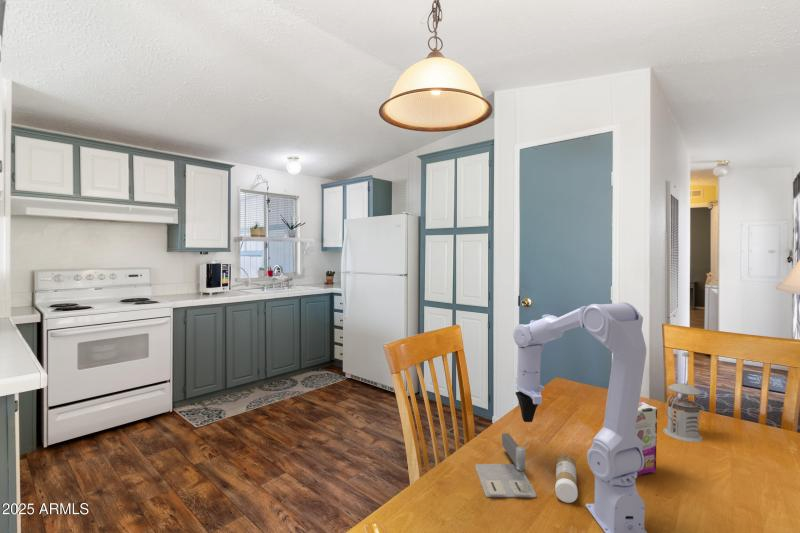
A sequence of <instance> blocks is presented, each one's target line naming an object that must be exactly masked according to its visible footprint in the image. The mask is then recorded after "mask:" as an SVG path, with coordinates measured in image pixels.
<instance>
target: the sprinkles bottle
mask: <svg viewBox="0 0 800 533" xmlns="http://www.w3.org/2000/svg"><path fill="white" fill-rule="evenodd" d="M576 463H577V462H576V460H575V459H574V458H573V457H572V456H570V455H568V454H561V455H559V456H558V457H557V458H556V468H555V482H556V483H555V485H554V488H555V489H554V492H555V494H556V497H557V498H558V499H559V500H560V501H561V502H563V503H567V504H571V503H573V502H575V501H576V500H577V499H578V496H579V494H578V493H579V491H578V487H577V483H578V482H577V480H578V479H577V470H576V467H577V464H576Z"/></svg>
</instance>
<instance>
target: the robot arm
mask: <svg viewBox="0 0 800 533" xmlns="http://www.w3.org/2000/svg"><path fill="white" fill-rule="evenodd" d="M541 317H542V318H540V319H537V320H536V319H532V320H530V322H529V323H528V324H522V323H521V324H518V325H517V326H515V327H514V329H513V339H514V342H515V344H516V345H517V373H516V375H517V376H516V377H515V378H516V379H515V381H516V383H515V388H516V390H517V391H516V392H515V395H516V397H517V401H518V404H519V407H520V412H521V419H522V421H523V422H524V423H533V420H534V416H535V413H536V411H537V408H538V406H539V405H542V404H543V396H542V392H541V391H545V386H544V385H542V384H541V363H542V360H541V358H542V352H544V345H545V344H546V343H549V342H551V341H554V340H558V339H560V338H561V337H563V336H564V333H565V331H569V330H571V329H577V328H582V329H585V330H586V331H587V332H588V333H589V334H590V335H592V337H593V338H595V339H596V340H597V341H598V342H600V343H601V344H602V345H603V346H604V347H606V349H609V351H610V352H611V353H612V362H611V367H610V376H609V383H608V389H607V398H606V405H605V412H604V420H603V427H601V429H600V430H599V431H598V432H597V434H596V435H595V436H594V437H593V441H592V445H591V446H590V448H588V450H587V453H586V459H587V460H586V462H587V464H588V466H589V468H590V471H591V472H592V474H593V475H594V495H593V496H594V500H593V501H594V502H593V503H585V508H586V509H587V510H588V512H589V513H590V514H591V516H592V517H593V518H594V520H595V521H596V522H597V524H598V525H599V527H600V528H601V530H603V532H604V533H648V532H647V531H646V529H645V520H646V519H645V516H646V514H645V513H646V505H645V502H644V500H643V498H642V497H641V496H640V494H639V493H638V490H637V487H636V486H637V485H636V479H637V478H638V476H637V472H638V471H640V470H641V469H642V468H643V467H644V456H643V452H642V443H643V442H642V441H641V440H640V439H639V437H637V436H636V435H635V434H634V433H635V426H636V419H637V413H638V406H639V402H640V398H641V391H642V384H643V379H644V378H643V377H644V371H645V364H646V358H647V346H646V345H647V344H646V340H645V338H644V333H643V329H642V328H643V321H644V317H643V315H642V314H641V313H640V312H639V311H638V309H637V308H636V307H635V306H634V305H633V304H631V303H629V302H623V301H622V302H616V303H604V304H603V303H602V304H598V303H592V304H588V305H585V306H580V307H579V308H577V309H574V310H572V311H570V312H568V313H566V314H563V315H562V316H559V317H558V316H555V315H553V314H551V315H550V313H549V314H548V313H547V314H543V315H541Z"/></svg>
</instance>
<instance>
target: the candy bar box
mask: <svg viewBox="0 0 800 533" xmlns="http://www.w3.org/2000/svg"><path fill="white" fill-rule="evenodd" d="M657 431H658V408H657V407H656V406H654V405H651V404H649V403H646V402H645V401H639V406H638V413H637V419H636V426H635V433H634V434H635V435H636V436H637V437H639V439H640V440H641V441H642V442H643V443H642V452H643V456H644V467H643V468H642V469H641V470H640V471H638V472H637V477H638V476H644V475H649V474H654V473H656V472H657V433H658V432H657Z"/></svg>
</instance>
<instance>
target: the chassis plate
mask: <svg viewBox="0 0 800 533" xmlns="http://www.w3.org/2000/svg"><path fill="white" fill-rule="evenodd" d="M475 470H476V473H477V476H478V479H479V482H480V484H481V487H482V489H483V491H484V494H485V495H484V496H485V497H486V498H536V496H537V494H536V491H535V489H534V488H533V485H532V483H531V482H530V480H529V478H528V477H527V475H526V473H525V472H524V470H518V469H516V465H515V463H475Z"/></svg>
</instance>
